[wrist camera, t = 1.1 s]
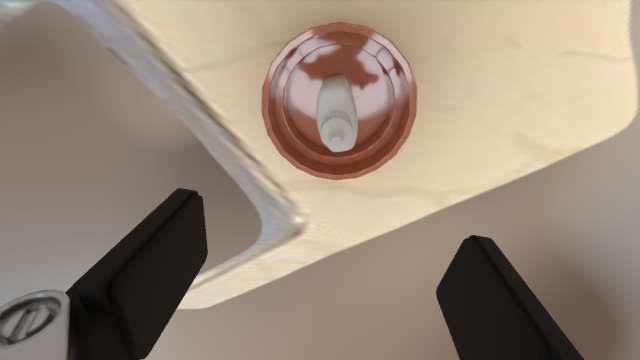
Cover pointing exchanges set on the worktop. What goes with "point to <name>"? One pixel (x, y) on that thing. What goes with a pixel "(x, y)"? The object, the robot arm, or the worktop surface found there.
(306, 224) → the worktop surface
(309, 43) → the bowl
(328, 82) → the eye dropper bottle
